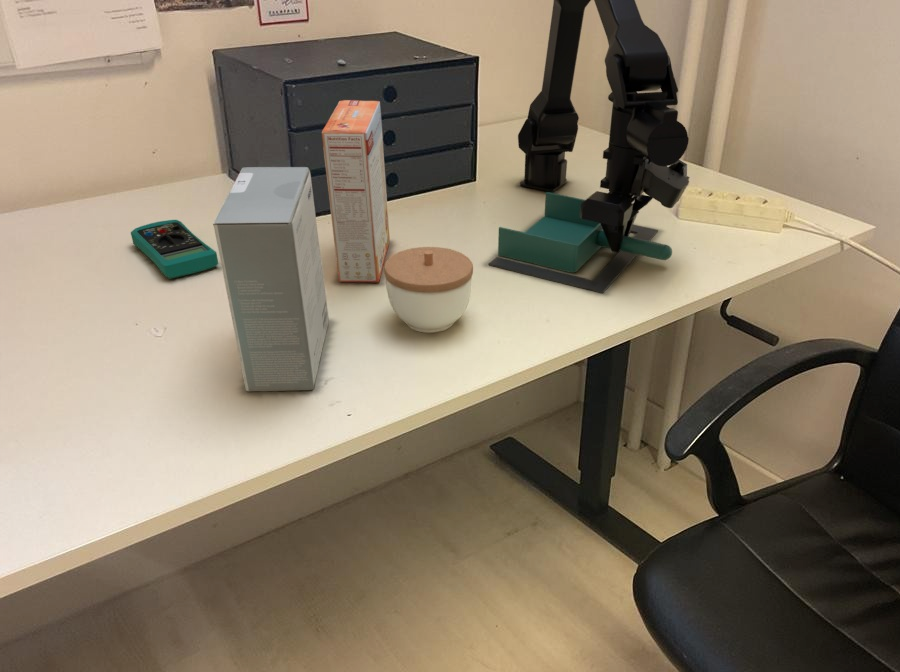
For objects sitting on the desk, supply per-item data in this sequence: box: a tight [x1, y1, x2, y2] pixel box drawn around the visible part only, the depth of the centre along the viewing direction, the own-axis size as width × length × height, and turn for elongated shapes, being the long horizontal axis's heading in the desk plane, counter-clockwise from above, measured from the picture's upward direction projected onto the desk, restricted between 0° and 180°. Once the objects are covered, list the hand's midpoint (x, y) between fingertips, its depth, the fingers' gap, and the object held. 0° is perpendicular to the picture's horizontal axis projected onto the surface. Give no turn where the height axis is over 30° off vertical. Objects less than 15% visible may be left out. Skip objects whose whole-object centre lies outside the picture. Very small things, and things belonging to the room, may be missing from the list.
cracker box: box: [321, 99, 391, 283], centre depth 110 cm, size 14×6×21 cm, turn 1°
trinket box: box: [383, 246, 474, 334], centre depth 99 cm, size 11×11×9 cm
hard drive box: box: [212, 166, 330, 392], centre depth 89 cm, size 16×8×20 cm, turn 5°
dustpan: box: [497, 191, 673, 274], centre depth 119 cm, size 24×17×4 cm
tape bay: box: [488, 224, 659, 294], centre depth 121 cm, size 18×24×1 cm
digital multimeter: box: [130, 219, 219, 279], centre depth 114 cm, size 7×15×3 cm, turn 39°
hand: (618, 248), depth 118 cm, fingers closed on dustpan, 2 cm apart
